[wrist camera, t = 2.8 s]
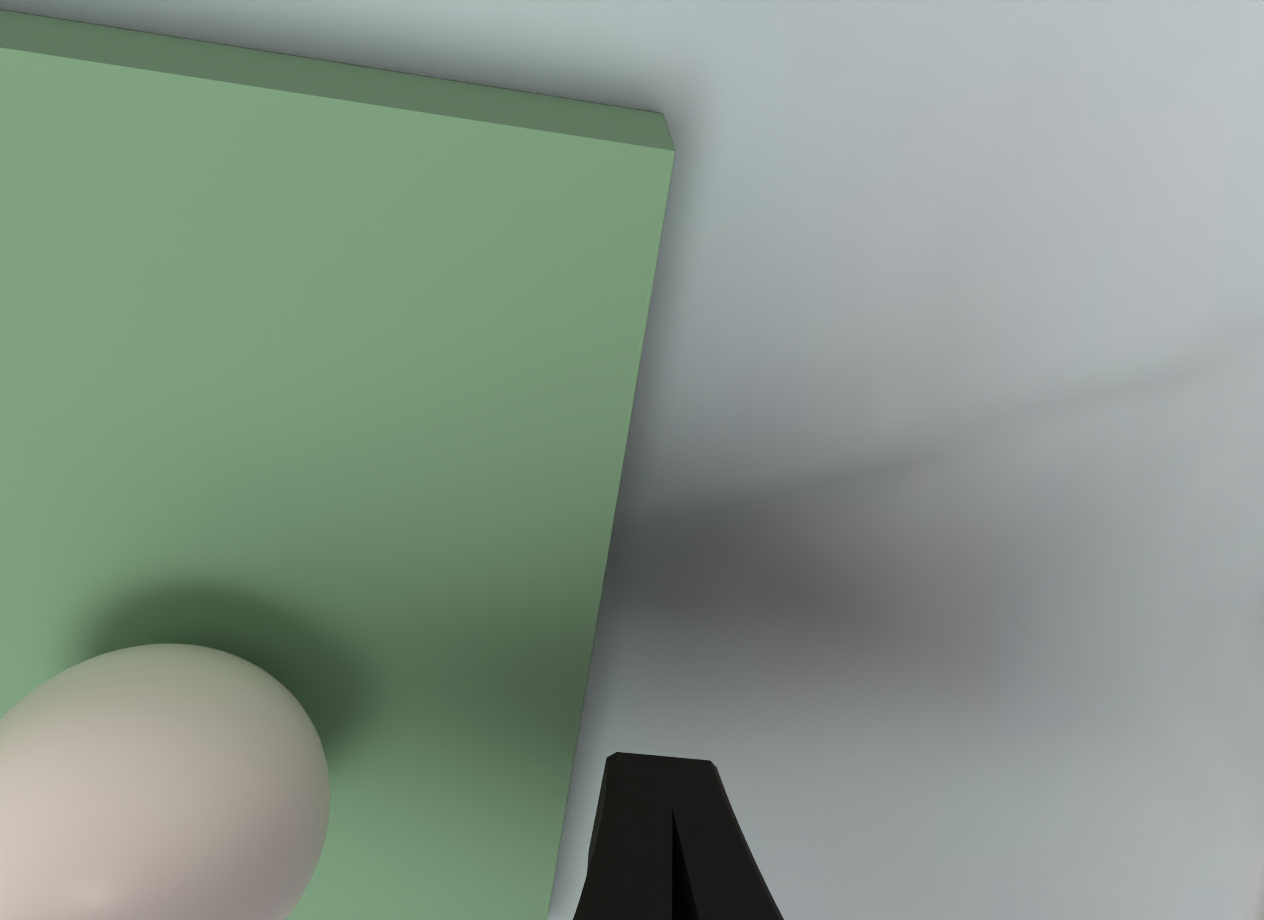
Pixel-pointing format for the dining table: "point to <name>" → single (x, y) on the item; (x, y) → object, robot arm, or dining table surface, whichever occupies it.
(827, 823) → the dining table surface
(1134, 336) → the dining table surface
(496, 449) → the putting mat
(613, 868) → the robot arm
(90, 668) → the ball
